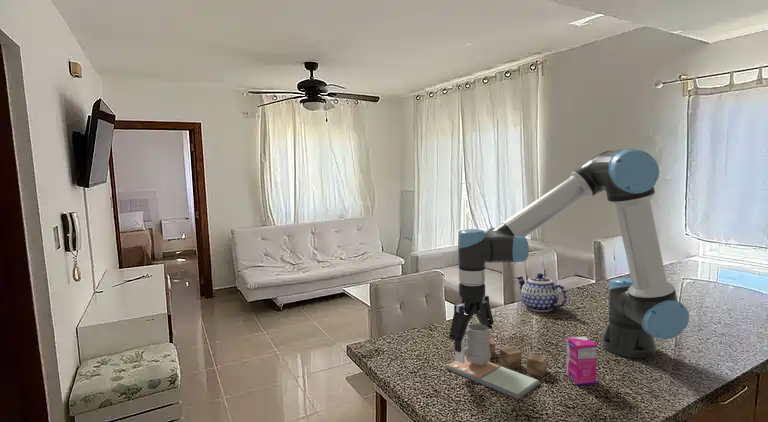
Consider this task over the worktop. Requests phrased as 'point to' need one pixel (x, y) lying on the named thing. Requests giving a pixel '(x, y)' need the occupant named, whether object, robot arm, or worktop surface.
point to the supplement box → (581, 360)
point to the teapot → (540, 293)
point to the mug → (477, 344)
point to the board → (495, 377)
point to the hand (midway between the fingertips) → (472, 355)
